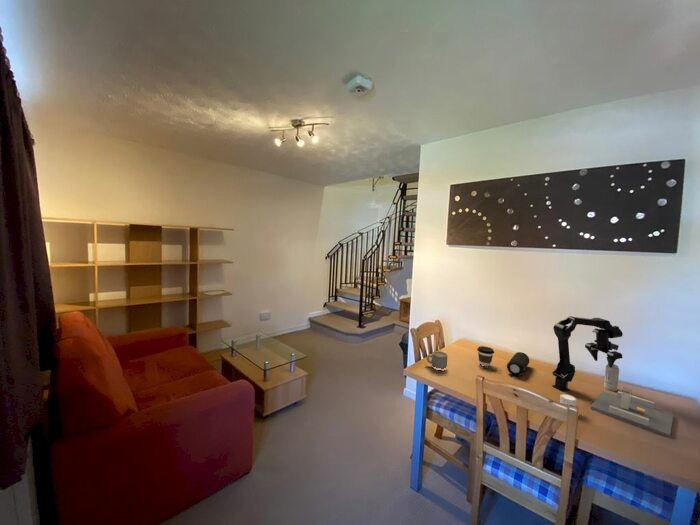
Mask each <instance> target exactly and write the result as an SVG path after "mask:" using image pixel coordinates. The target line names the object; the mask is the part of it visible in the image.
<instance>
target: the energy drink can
mask: <svg viewBox="0 0 700 525" xmlns="http://www.w3.org/2000/svg"><path fill="white" fill-rule="evenodd" d="M619 375H620V368H619V365H618V364H615V363H614V364H613V366H612V367H611V368H610V367H609V364H608V363H607V365H605V371H604V381H603V387H604V388H605V389H606V390H608V391H612V392H616V391H617V390H618V386H619Z"/></svg>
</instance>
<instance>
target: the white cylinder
mask: <svg viewBox="0 0 700 525" xmlns="http://www.w3.org/2000/svg"><path fill="white" fill-rule="evenodd" d="M559 396H560V403H563V404H568V405H573V406H575V407H576V405H577V398H576V397H575V396H573V395H570V394H567V393H562V394H560V395H559Z"/></svg>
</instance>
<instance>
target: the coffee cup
mask: <svg viewBox="0 0 700 525" xmlns="http://www.w3.org/2000/svg"><path fill="white" fill-rule="evenodd" d="M477 351H478V352H477V356H478V361H479V365H480V364H481V365H484V366H489V367H490V366H491V364H492V360H493V357H494V354H495V351H494V349H493V348H491V347H489V346H483V345H482V346H478V347H477ZM481 365H480V366H481Z"/></svg>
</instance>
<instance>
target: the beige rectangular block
mask: <svg viewBox="0 0 700 525" xmlns="http://www.w3.org/2000/svg"><path fill="white" fill-rule="evenodd" d="M632 391H633V389H631V388H628V387H625V386H623V387H622V389H621V392H622V396H621V405H620V407H621V408H624V409H627V410H628V409H629V407H630V399H631V395H632Z"/></svg>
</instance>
